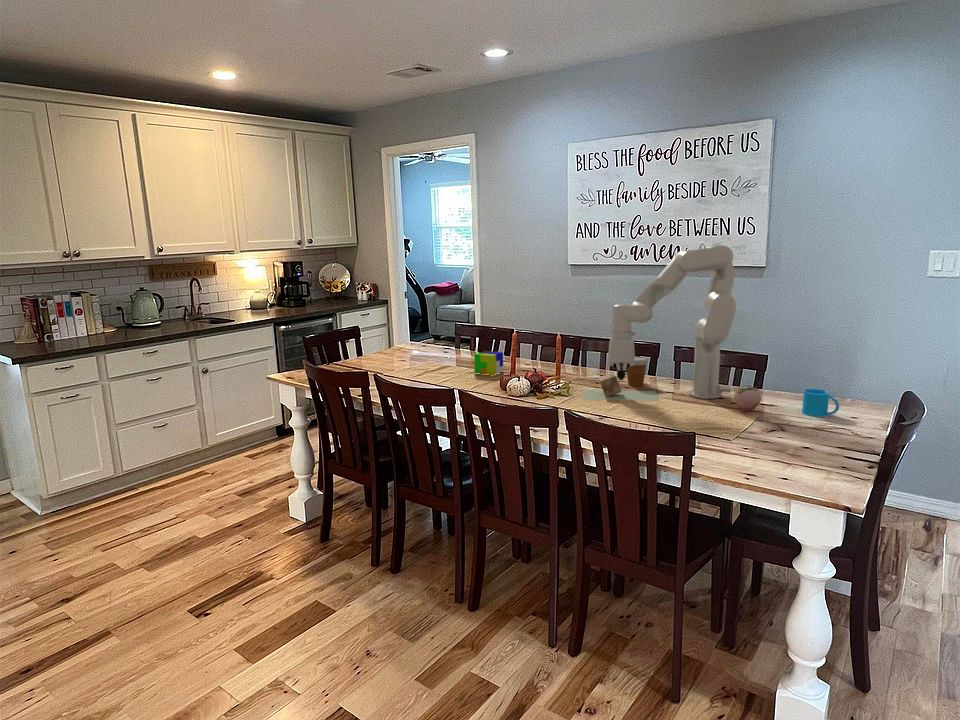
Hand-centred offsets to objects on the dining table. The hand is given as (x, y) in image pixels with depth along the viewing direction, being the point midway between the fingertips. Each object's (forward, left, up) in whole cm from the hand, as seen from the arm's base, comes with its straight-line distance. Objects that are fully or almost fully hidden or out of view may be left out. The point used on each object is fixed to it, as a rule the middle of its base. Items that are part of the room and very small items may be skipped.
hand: (621, 379), depth 261 cm
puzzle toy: (+59, -40, -7) cm, 72 cm away
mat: (0, 0, -7) cm, 7 cm away
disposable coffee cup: (-8, -19, -7) cm, 22 cm away
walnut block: (+1, 0, -1) cm, 1 cm away
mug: (-69, +22, -7) cm, 72 cm away
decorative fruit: (-44, +20, -7) cm, 49 cm away
